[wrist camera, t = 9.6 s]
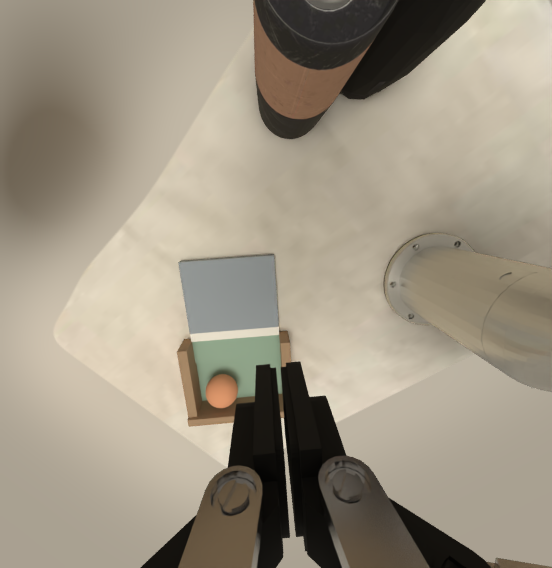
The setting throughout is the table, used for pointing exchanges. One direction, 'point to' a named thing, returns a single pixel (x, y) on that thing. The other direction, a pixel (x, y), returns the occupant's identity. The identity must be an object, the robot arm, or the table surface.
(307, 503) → the robot arm
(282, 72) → the travel mug
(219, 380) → the ball
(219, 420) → the lane
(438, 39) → the portable speaker
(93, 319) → the table surface
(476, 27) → the table surface
